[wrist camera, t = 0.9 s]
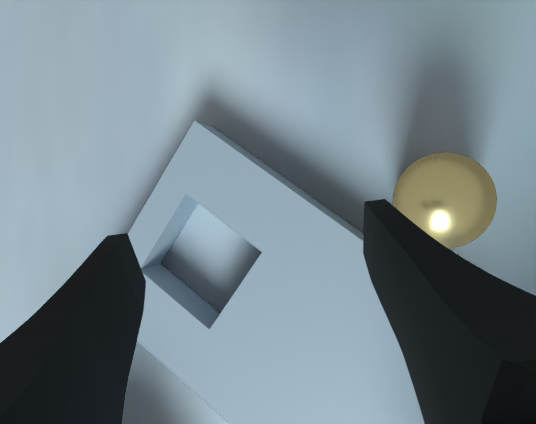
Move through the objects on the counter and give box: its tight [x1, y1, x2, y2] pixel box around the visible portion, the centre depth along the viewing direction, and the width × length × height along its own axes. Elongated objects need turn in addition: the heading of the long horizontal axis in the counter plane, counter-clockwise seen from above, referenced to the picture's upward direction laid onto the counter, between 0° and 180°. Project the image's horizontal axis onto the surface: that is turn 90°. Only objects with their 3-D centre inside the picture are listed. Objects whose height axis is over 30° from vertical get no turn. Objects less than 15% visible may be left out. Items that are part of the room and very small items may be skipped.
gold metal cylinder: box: [393, 152, 497, 248], centre depth 21 cm, size 4×4×6 cm
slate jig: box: [128, 121, 425, 424], centre depth 26 cm, size 22×14×2 cm, turn 56°
